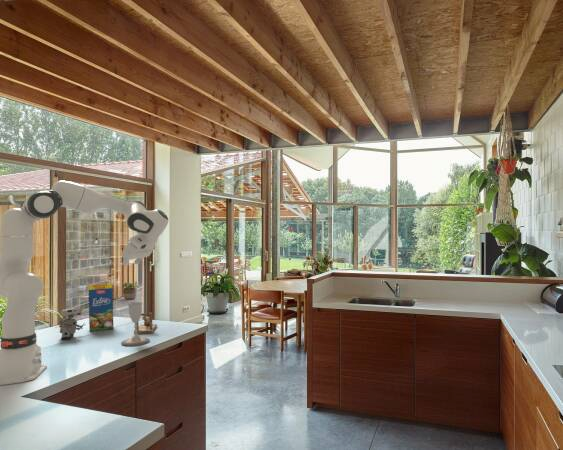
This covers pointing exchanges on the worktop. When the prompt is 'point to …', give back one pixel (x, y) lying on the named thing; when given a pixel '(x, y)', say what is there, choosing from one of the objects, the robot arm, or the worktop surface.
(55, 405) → the worktop surface
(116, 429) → the worktop surface
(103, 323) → the blue food package
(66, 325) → the figurine
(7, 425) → the worktop surface
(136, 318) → the chalice
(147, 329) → the toy catapult
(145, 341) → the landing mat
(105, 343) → the worktop surface
